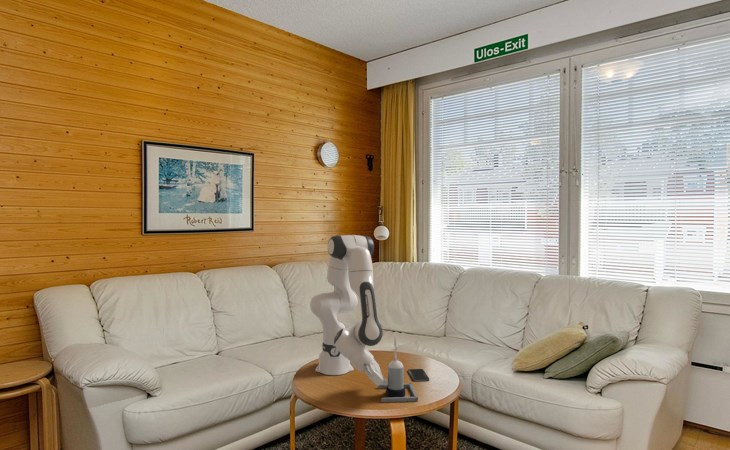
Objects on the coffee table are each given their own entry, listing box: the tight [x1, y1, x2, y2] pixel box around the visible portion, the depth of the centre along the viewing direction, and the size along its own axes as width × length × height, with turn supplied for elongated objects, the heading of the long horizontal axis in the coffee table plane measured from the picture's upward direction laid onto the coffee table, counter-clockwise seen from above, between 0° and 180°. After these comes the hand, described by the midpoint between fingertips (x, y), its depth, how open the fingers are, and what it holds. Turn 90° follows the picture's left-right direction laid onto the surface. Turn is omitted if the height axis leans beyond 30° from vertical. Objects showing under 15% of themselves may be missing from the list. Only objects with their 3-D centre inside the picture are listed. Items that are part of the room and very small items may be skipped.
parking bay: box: [377, 383, 419, 403], centre depth 195 cm, size 16×15×2 cm
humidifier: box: [385, 335, 406, 398], centre depth 195 cm, size 8×8×25 cm
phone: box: [407, 368, 430, 382], centre depth 218 cm, size 8×1×15 cm
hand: (386, 383), depth 195 cm, fingers closed, pressing on humidifier
